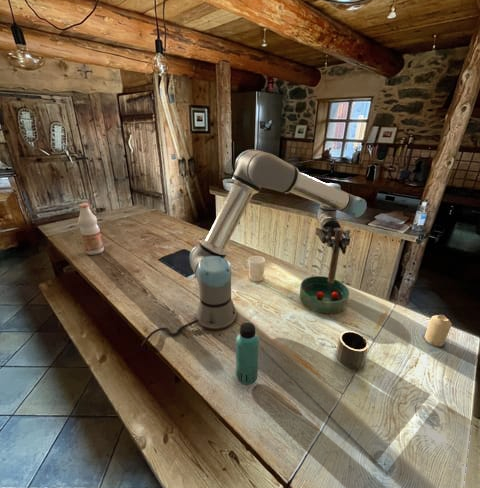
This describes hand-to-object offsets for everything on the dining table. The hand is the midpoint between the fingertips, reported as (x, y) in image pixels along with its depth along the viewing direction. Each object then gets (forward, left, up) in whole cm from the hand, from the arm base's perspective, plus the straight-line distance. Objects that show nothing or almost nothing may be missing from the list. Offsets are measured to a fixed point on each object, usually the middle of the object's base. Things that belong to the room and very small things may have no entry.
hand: (339, 250), depth 91 cm
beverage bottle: (-42, -4, -29) cm, 51 cm away
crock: (-11, -17, -29) cm, 35 cm away
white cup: (-5, +38, -29) cm, 48 cm away
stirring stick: (+4, +4, -16) cm, 17 cm away
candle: (+20, -29, -29) cm, 45 cm away
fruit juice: (-64, +114, -16) cm, 132 cm away
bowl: (+7, +8, -29) cm, 31 cm away
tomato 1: (+6, +9, -27) cm, 29 cm away
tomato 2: (+11, +5, -27) cm, 29 cm away
